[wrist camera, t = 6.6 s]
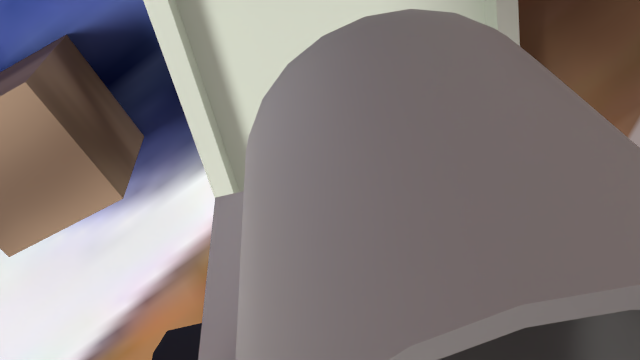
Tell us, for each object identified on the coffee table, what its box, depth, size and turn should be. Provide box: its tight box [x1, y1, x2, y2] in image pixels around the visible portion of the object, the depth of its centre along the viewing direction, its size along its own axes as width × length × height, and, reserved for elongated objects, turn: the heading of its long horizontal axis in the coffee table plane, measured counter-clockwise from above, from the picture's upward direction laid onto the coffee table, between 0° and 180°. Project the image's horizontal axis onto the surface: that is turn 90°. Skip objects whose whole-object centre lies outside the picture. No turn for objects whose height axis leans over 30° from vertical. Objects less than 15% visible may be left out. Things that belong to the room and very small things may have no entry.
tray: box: [143, 0, 520, 198], centre depth 24 cm, size 16×13×2 cm
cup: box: [236, 9, 640, 360], centre depth 11 cm, size 7×10×9 cm
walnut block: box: [0, 35, 144, 257], centre depth 23 cm, size 5×5×5 cm
